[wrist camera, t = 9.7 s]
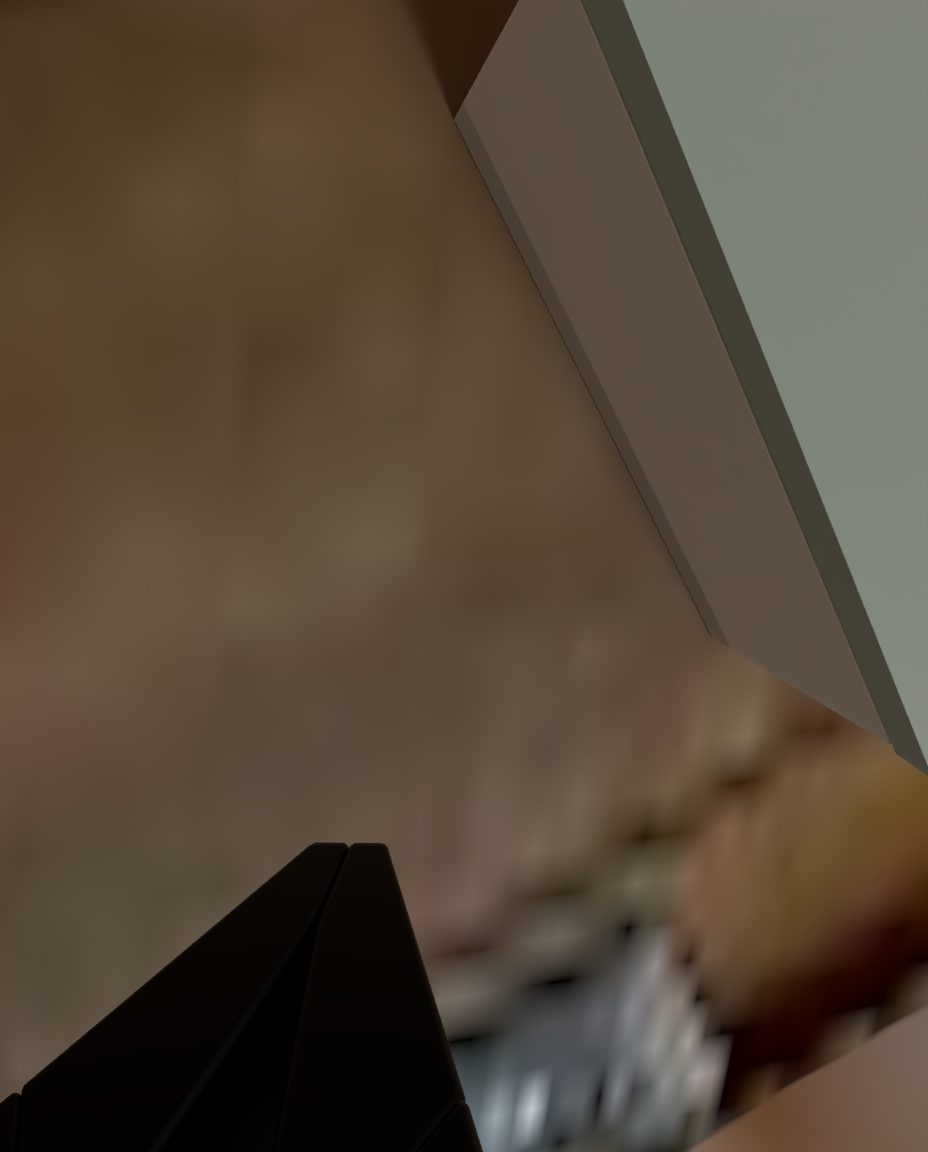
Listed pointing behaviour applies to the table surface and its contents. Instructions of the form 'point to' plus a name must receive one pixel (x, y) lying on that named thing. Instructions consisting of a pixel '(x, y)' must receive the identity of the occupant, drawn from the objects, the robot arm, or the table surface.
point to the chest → (652, 346)
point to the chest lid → (812, 273)
